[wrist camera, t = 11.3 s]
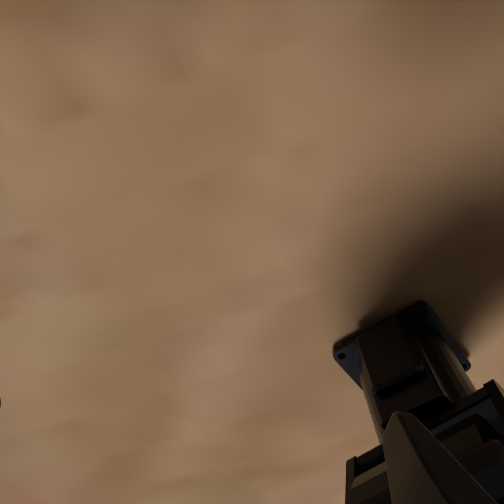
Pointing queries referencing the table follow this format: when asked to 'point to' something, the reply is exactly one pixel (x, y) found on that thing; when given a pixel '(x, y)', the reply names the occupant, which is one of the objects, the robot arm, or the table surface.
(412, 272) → the table surface
